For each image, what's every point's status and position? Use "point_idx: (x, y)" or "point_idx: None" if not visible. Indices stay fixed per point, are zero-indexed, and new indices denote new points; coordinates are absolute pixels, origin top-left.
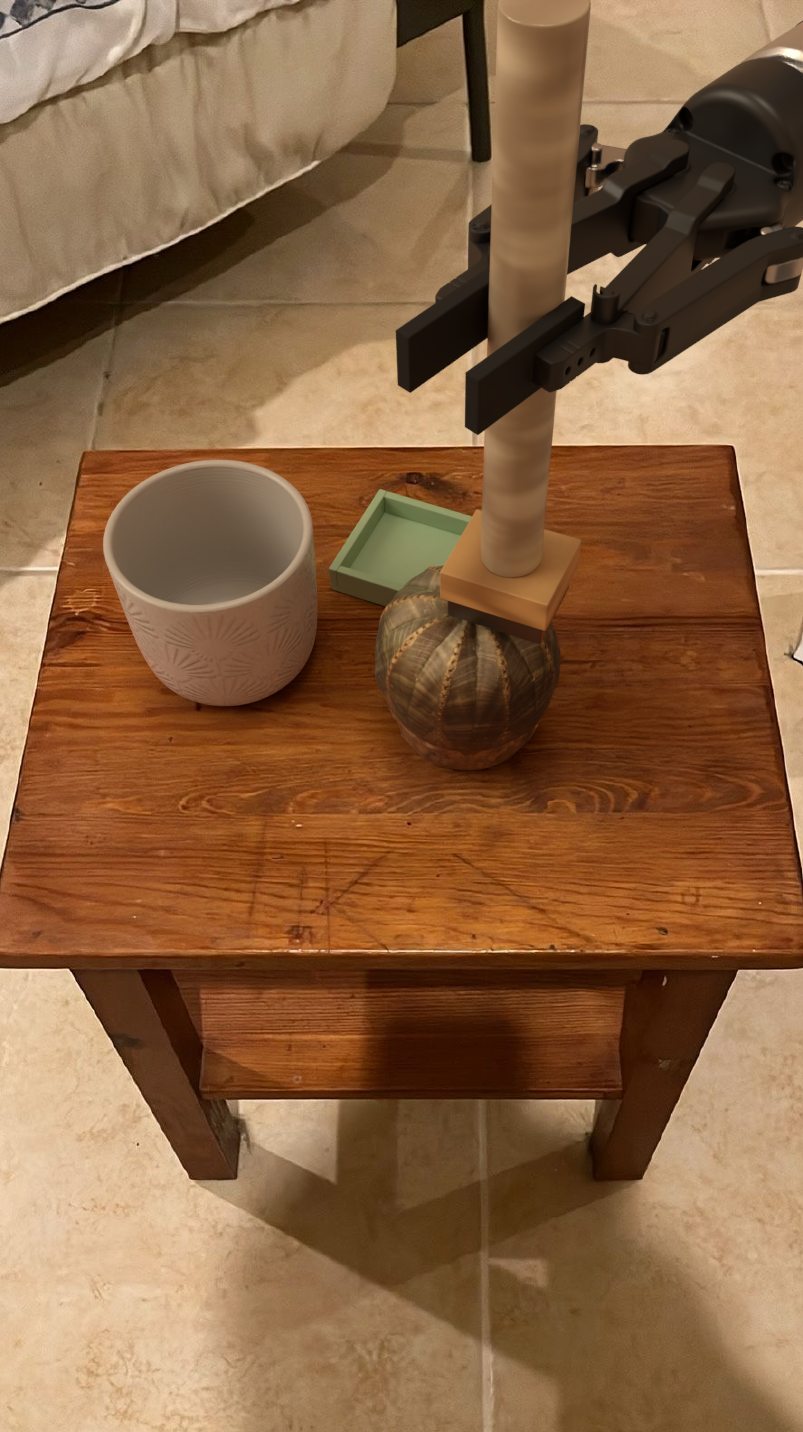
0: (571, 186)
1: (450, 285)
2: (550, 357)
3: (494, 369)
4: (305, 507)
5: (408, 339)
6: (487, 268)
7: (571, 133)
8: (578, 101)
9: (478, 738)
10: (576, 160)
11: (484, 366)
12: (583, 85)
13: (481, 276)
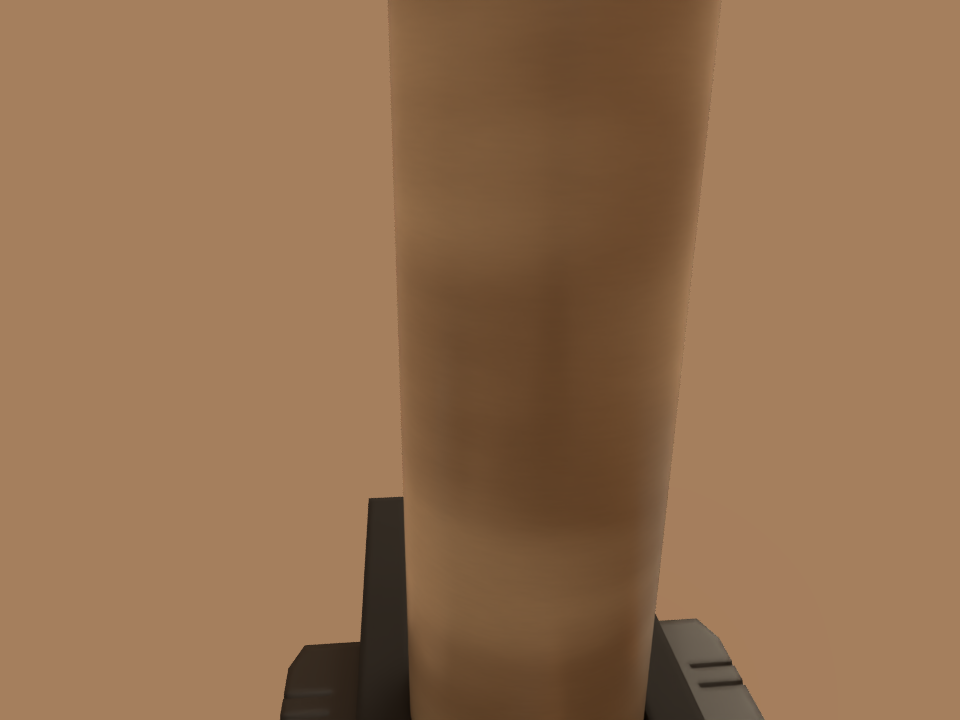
0: (404, 379)
1: (717, 658)
2: (322, 653)
3: (369, 525)
4: None
5: None
6: (687, 688)
7: (393, 171)
8: (397, 69)
9: None
10: (416, 319)
11: (391, 519)
12: (413, 27)
13: (660, 658)
